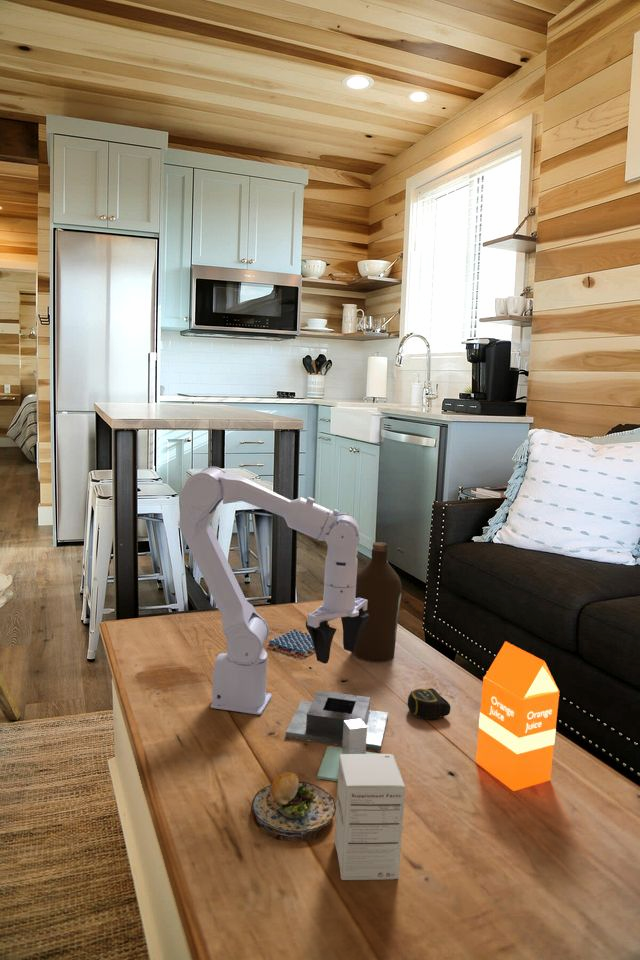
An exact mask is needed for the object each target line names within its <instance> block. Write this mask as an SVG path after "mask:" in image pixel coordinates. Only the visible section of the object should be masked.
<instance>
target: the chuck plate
mask: <svg viewBox="0 0 640 960" xmlns="http://www.w3.org/2000/svg"><path fill="white" fill-rule="evenodd" d="M388 716H389V712H388V711H381V710H374V709H373V710H372V709H371V696H364V695H355V694H348V693H341V692H333V691H328V690H327V691H326V690H320V689H319V690H317V691H316V692H315V695H314V697H313V700H312V701H307V700H300V702H299V704H298V707H297V708H296V711H295V712H294V714H293V717H292V718H291V721H290V722H289V724H288V726H287V728H286V730H285V738H286V737H291V738H290V739H293V738H297V739H296V740H300V739H303V740H302V741H307V740H310V741H309V742H314V741H316V742H315V743H320V742H322V744H327V743H328V745H334V744H337V745H336V746H341V745H342V741H343V724H344V720H352V719H361V720H362V721H363V722H364V724H365V725H366V726H367V739H366V750H369V751H376V752H381V749H382V745H383V741H384V737H385V732H386V728H387V722H388V718H389V717H388Z"/></svg>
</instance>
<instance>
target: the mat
mask: <svg viewBox="0 0 640 960" xmlns="http://www.w3.org/2000/svg"><path fill="white" fill-rule="evenodd" d="M326 747H327V748H326V750H325V754H324V756H323V759H322V761H321V763H320V764H321V765H320V767H319V768H318V773H317V777H316V778H317V779H321V780H327V781H333V782H338V773H339V755H340V754H342V747H337V746H328V745H327V746H326ZM366 754H379V753H376V752H370V751H366Z"/></svg>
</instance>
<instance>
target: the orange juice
mask: <svg viewBox="0 0 640 960" xmlns="http://www.w3.org/2000/svg"><path fill="white" fill-rule="evenodd" d="M549 669H550V668H549V667H548V665H547V663H546V662H545V660H543V659H541V658H539V657H537V656H535V655H534V654H532V653H530V652H527V651H526V650H523V649H521V648H520V647H517V646H515V645H514V644H511V643H510V642H508V641H504V643H503V645H502V647H501V648H500V650H499V652H498V653H497V655H496V657H495V658H494V660H493V662H492V663H491V665H490V667H489V669H488V670H487V671H486V674H485V675H484V676H483V677H482V678H483V679H482V690H481V703H480V711H479V717H478V718H479V720H478V735H477V745H476V747H477V748H476V756H475V757H476V758H475V763H476V764H477V765H479V766H480V767H481V768H483V770H485V771H487V772H488V773H489V774H491V775H492V776H493V777H494V778H496V779H497V780H499V782H501V783H502V784H504V785H505V786H506V787H507V788H508V789H510V790H511V791H513V792H515V791H518V790H521V789H525V788H530V787H532V786H536V785H539V784H542V783H546V782H549V781H551V776H552V775H551V774H552V767H553V766H552V765H553V756H554V747H555V741H556V731H557V729H556V728H557V717H558V709H559V701H560V700H559V699H560V690H559V688H558V686H557V684H556V682H555V680H554V677H553V675H552V674H551V671H550V670H549Z"/></svg>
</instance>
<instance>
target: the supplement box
mask: <svg viewBox="0 0 640 960" xmlns="http://www.w3.org/2000/svg"><path fill="white" fill-rule="evenodd" d="M405 790H406V784H405V782H404V780H403V777H402V774H401V771H400V768H399V766H398V764H397V760H396V757H395V755H394V754H391V753H378V754H340V755H339V773H338V781H337V792H336V804H335V806H336V811H335V822H334V823H335V825H334V845H335V849H336V854H337V859H338V867H339V874H340V879H341V880H342V881H367V880H368V881H370V880H371V881H376V880H378V881H380V880H397V879H399V877H400V862H401V861H400V860H401V846H402V837H403V835H402V834H403V821H404V808H405V799H406V798H405V795H406V793H405V792H406V791H405Z"/></svg>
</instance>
